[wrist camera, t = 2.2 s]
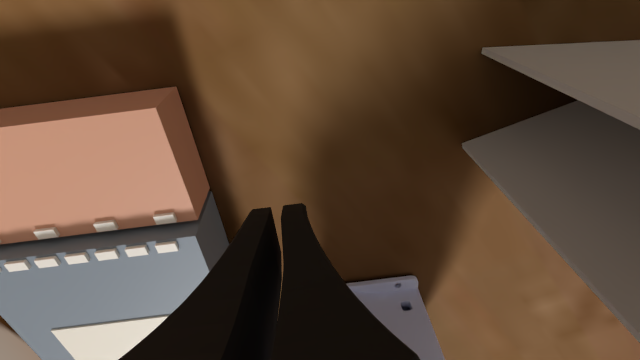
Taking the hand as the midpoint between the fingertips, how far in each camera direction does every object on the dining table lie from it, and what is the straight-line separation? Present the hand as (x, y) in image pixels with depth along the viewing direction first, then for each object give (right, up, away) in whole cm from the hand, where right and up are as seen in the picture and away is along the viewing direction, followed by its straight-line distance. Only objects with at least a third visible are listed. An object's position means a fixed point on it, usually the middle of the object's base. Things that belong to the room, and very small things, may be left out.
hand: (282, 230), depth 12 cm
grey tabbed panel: (-10, -5, +12) cm, 17 cm away
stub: (-11, +3, +7) cm, 14 cm away
